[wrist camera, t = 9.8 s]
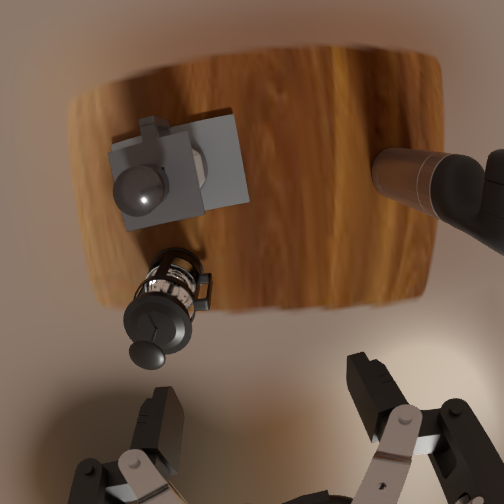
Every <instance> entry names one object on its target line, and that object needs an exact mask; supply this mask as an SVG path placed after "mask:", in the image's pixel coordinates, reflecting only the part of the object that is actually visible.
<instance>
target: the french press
mask: <svg viewBox="0 0 504 504" xmlns="http://www.w3.org/2000/svg"><path fill="white" fill-rule="evenodd" d="M175 257H179V258H182V259H184V260H186V261H188V262H189V263H190V264H191V265H192V266H193V267H194V269H195V272H196V279H195V280H194V278H193V277H192V276H191V274H190V273H189V272H188V271H187V270H185V269H184V268H182V267H180V266H178V265H174V264H172V262H173V260H174V258H175ZM161 261H162V262H161ZM160 262H161V264H160ZM159 264H160V266H159ZM201 284H208V289H207V297H206V298H204V299H198V296H199V290H200V286H201ZM212 284H213V282H212V274H211V273H205V274H203V268H202V265H201V263H200V261H199V260H198V258H197V257H196V256H195V255H194V254H193V253H191V252H190V251H188V250H185V249H182V248H168V249H165V250H163V251H161V252H160V253H159V254H158V255H157V256H156V257H155V258H154V260H153V262H152V264H151V267H150V269H149V272H148V276H147V277H146V280H144V281H143V282H142V283H141V284H140V286H139V287H138V289H137V291H136V293H135V295H134V300H133V301H132V302H131V303H130V304H129V305H128V307H127V308H126V310H125V313H124V320H123V321H124V327H125V330H126V332H127V334H128V336H129V337H130V339H131V340H132V341H133V342H134V343H133V344H132V345H131V346H130V348H129V355H130V357H131V359H132V361H133V362H134V363H135V364H136V365H138V366H139V367H141V368H143V369H147V370H156V369H159V368H160V367H162V366H163V365H164V363H165V359H166V358H165V354H172V353H176V352H178V351H180V350H181V349H183V348H184V347H185V346H186V345H187V344H188V342H189V340H190V338H191V334H192V324H191V323H192V322H193V319H194V317H195V312H196V311H201V310H209V309H210V302H211V293H212ZM142 286H143V287H142ZM141 287H142V289H141V290H140V292H139V294H138V290H139V289H140V288H141ZM137 294H138V296H137ZM192 304H193V305H194V313H193V316H192V317H191V319H190V316H189V313H188V310H187V309H188V308H189V307H191V306H192Z"/></svg>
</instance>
